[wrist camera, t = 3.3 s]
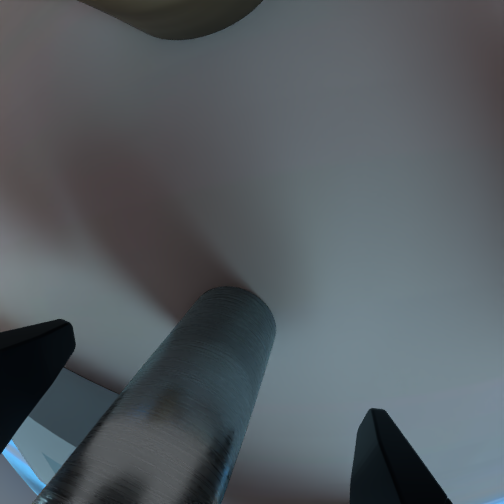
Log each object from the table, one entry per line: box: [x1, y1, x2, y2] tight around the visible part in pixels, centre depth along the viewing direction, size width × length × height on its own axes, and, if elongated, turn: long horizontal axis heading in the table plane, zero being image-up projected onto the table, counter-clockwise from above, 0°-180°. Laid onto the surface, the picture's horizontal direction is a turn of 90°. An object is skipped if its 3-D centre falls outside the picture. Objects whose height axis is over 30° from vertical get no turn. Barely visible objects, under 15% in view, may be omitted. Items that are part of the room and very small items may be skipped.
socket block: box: [12, 367, 119, 485], centre depth 14 cm, size 12×12×4 cm
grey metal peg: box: [32, 286, 276, 504], centre depth 7 cm, size 3×3×9 cm
